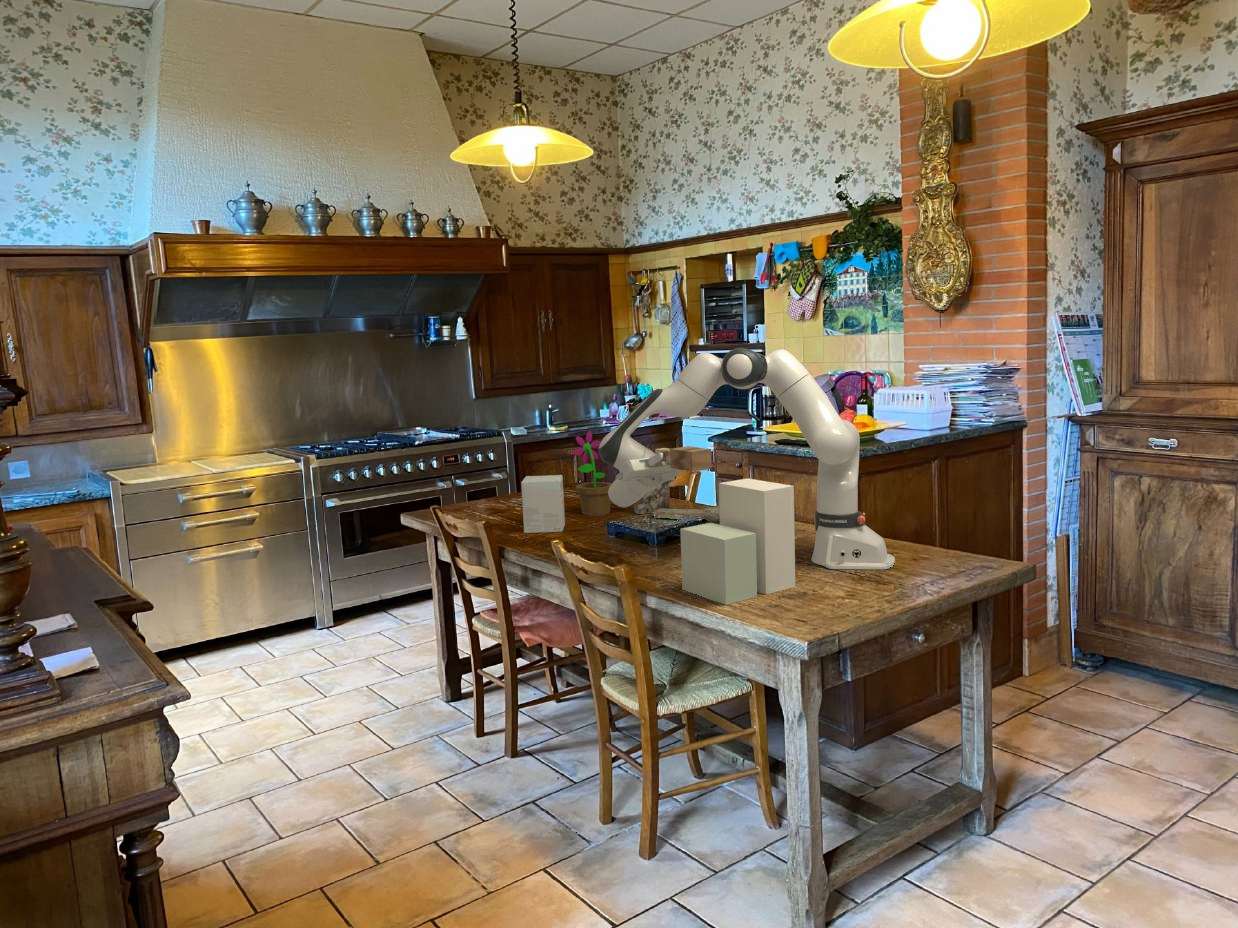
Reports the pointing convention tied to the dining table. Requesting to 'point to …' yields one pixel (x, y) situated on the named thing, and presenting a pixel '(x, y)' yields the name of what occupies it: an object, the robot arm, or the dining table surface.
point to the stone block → (653, 500)
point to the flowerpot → (595, 492)
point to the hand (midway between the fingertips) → (669, 453)
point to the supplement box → (543, 503)
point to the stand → (742, 544)
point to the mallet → (687, 458)
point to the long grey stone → (697, 512)
